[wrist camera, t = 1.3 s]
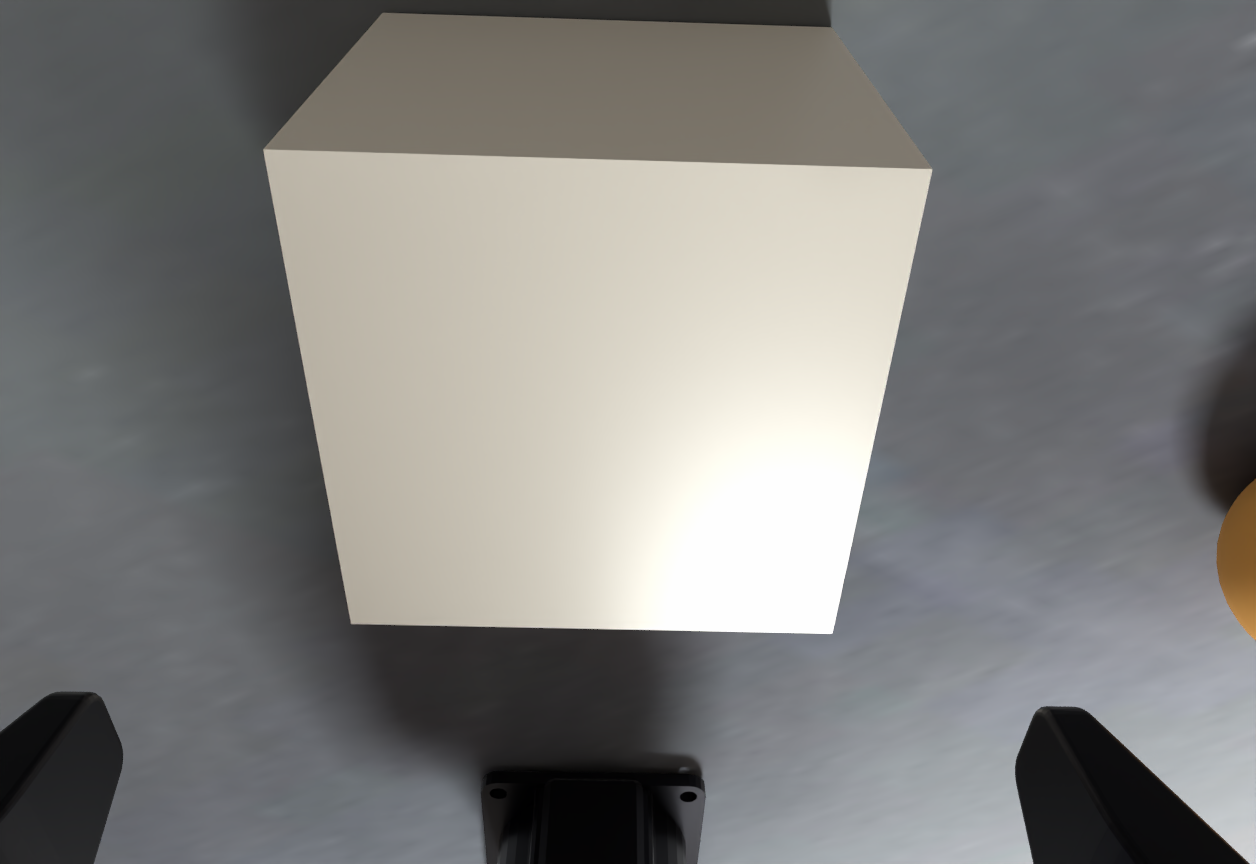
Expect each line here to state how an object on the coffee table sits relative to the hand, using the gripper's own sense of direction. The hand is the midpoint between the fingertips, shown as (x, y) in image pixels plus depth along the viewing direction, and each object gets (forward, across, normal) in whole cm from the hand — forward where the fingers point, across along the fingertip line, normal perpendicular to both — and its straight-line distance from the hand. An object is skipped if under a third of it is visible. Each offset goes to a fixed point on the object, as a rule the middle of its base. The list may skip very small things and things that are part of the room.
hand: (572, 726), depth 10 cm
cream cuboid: (+12, 0, 0) cm, 12 cm away
